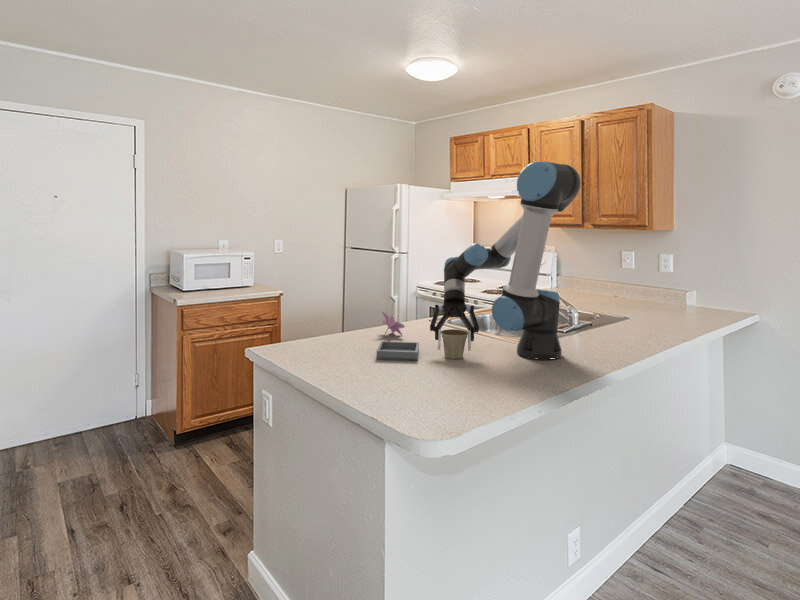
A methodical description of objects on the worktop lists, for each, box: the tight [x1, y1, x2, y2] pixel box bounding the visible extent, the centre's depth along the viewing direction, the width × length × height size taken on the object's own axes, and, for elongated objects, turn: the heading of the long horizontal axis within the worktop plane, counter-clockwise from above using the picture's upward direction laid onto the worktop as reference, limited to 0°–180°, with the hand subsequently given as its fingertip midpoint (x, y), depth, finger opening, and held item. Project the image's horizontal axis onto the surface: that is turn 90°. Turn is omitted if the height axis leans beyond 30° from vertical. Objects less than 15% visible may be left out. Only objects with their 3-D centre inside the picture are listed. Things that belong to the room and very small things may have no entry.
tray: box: [376, 340, 420, 362], centre depth 173 cm, size 14×14×3 cm
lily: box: [380, 310, 406, 338], centre depth 202 cm, size 12×12×10 cm
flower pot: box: [441, 328, 468, 360], centre depth 171 cm, size 9×9×9 cm
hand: (454, 348), depth 168 cm, fingers closed on flower pot, 9 cm apart
